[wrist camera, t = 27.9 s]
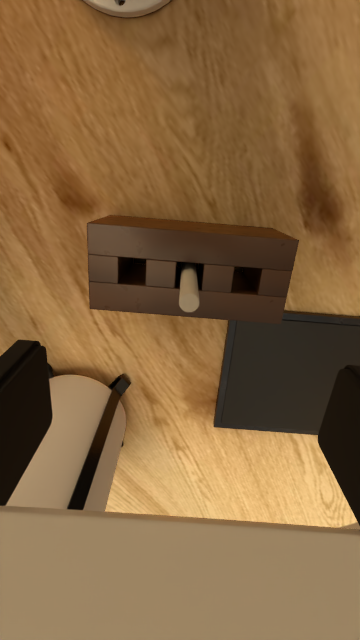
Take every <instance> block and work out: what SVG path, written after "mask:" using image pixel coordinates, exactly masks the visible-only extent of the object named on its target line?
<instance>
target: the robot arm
mask: <svg viewBox="0 0 360 640" xmlns="http://www.w3.org/2000/svg"><path fill="white" fill-rule="evenodd" d="M83 1H84V2H86V3H87V4H89V5H90V6H92V7H93V8H95V9H96V10H99V11H101V12H104V13H106V14H109V15H112V16H118V17H125V18H127V17H138V16H143V15H146V14H148V13H151V12H154V11H156V10H158V9H159V8H161V7H162V6H164V5H165V4H167V3H169V2H170V1H171V0H83ZM120 1H124V2H125V3H124V4H123V5H121V6H119V3H120ZM52 417H53V413H52V403H51V393H50V383H49V373H48V363H47V353H46V348H45V347H44V346H41V345H40V342H38V341H30V340H18V341H16V342H15V343H14V344H13V345H12V346H11V347H10V348H9V349H8V350H7V351H6V352H5V353H4V354H3V355H1V356H0V640H360V530H356V529H344V528H331V527H318V526H305V525H291V524H278V523H264V522H250V521H236V520H222V519H207V518H193V517H178V516H163V515H149V514H133V513H117V512H102V511H86V510H70V509H54V508H39V507H17V506H6V504H7V503H8V501H9V499H10V497H11V495H12V494H13V492H14V490H15V488H16V486H17V485H18V483H19V481H20V479H21V477H22V476H23V474H24V472H25V470H26V469H27V467H28V465H29V463H30V461H31V460H32V458H33V456H34V454H35V452H36V451H37V449H38V447H39V445H40V444H41V442H42V440H43V438H44V436H45V435H46V433H47V431H48V429H49V427H50V425H51V423H52ZM318 443H319V446H320V448H321V450H322V452H323V454H324V456H325V458H326V460H327V462H328V464H329V466H330V468H331V470H332V472H333V474H334V476H335V478H336V480H337V482H338V484H339V486H340V488H341V490H342V492H343V494H344V496H345V498H346V499H347V501H348V503H349V505H350V507H351V509H352V511H353V513H354V515H355V517H356V519H357V521H358V523H359V525H360V366H357V365H346V366H345V367H344V369H340V370H339V371H338V374H337V377H336V380H335V383H334V386H333V389H332V392H331V396H330V399H329V402H328V405H327V408H326V411H325V414H324V417H323V421H322V424H321V427H320V430H319V433H318Z"/></svg>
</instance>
